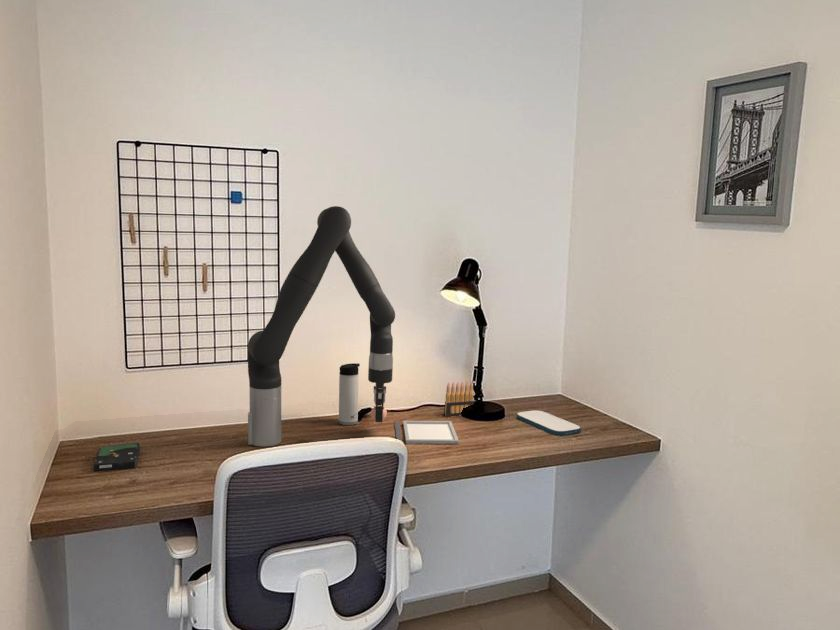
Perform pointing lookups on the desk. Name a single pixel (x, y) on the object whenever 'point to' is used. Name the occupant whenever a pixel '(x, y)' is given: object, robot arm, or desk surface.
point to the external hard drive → (548, 422)
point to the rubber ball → (373, 413)
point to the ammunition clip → (458, 399)
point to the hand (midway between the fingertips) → (378, 419)
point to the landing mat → (427, 432)
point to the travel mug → (348, 394)
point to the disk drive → (117, 457)
